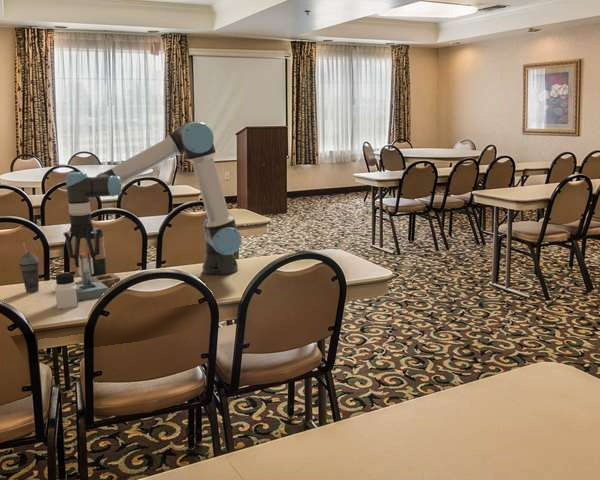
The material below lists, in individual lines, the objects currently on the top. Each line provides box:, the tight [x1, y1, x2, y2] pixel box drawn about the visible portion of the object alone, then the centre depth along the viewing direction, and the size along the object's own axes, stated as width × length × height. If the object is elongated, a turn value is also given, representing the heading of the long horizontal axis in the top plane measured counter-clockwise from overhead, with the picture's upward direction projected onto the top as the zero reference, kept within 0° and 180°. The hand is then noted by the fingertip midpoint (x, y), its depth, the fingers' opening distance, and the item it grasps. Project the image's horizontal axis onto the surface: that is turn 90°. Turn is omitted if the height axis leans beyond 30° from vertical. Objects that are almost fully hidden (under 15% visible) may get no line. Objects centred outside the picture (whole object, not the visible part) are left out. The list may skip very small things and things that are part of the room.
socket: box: [76, 281, 109, 302], centre depth 241 cm, size 12×12×3 cm
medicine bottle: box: [54, 271, 79, 310], centre depth 227 cm, size 7×7×12 cm
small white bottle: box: [79, 252, 92, 285], centre depth 239 cm, size 4×4×12 cm
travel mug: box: [83, 229, 107, 277], centre depth 265 cm, size 8×8×20 cm
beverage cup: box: [18, 241, 40, 294], centre depth 246 cm, size 7×7×20 cm
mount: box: [92, 273, 121, 288], centre depth 254 cm, size 10×10×3 cm
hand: (86, 274), depth 240 cm, fingers closed on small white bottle, 3 cm apart
